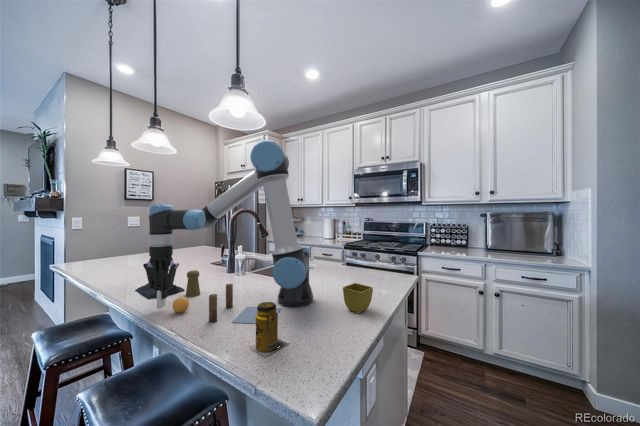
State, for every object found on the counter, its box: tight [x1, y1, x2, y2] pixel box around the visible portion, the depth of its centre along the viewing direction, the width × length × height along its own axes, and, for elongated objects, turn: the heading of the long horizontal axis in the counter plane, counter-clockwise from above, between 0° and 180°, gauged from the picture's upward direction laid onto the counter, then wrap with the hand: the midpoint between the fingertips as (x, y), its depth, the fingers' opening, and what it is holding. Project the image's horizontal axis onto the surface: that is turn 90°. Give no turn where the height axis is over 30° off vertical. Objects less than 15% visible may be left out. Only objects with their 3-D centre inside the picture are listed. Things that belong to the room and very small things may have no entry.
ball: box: [171, 296, 190, 314], centre depth 93 cm, size 6×6×6 cm
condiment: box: [249, 301, 290, 358], centre depth 70 cm, size 7×8×12 cm
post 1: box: [208, 293, 218, 324], centre depth 85 cm, size 3×3×9 cm
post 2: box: [225, 283, 234, 309], centre depth 98 cm, size 3×3×9 cm
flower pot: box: [342, 282, 374, 314], centre depth 96 cm, size 9×9×9 cm
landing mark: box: [231, 306, 282, 325], centre depth 90 cm, size 14×14×1 cm
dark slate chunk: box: [134, 282, 186, 300], centre depth 117 cm, size 15×22×5 cm
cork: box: [185, 269, 201, 298], centre depth 112 cm, size 6×6×11 cm
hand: (161, 306), depth 93 cm, fingers closed
